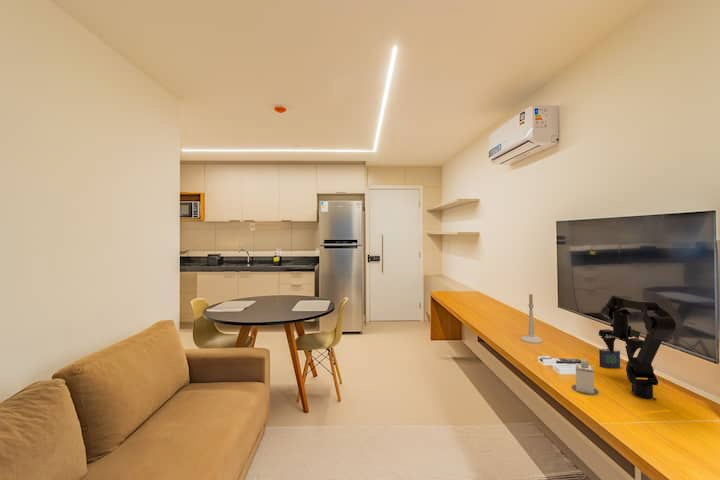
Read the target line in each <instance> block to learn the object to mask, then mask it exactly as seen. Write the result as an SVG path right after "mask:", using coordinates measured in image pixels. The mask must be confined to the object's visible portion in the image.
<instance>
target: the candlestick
mask: <svg viewBox="0 0 720 480" xmlns="http://www.w3.org/2000/svg"><path fill="white" fill-rule="evenodd" d="M533 297H534V296H533V294H528V300H529V301H528V302H529V303H528V304H527V305H528V308H529V310H528V311H529V312H528V315H529V316H528V334H527V335H523V336H521V337H520V341H522V342H524V343H528V344H541V343H543V342H544V341H543V339H542V338H541V337H539V336H537V335H535V325H534V324H535V323H534V311H533V308H534V306H535V305H534V303H533V301H534V300H533Z"/></svg>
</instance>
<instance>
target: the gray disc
mask: <svg viewBox="0 0 720 480" xmlns="http://www.w3.org/2000/svg"><path fill="white" fill-rule="evenodd" d="M570 388H571V389H572V390H573V391H575V392H576V393H579V394H582V395H585V396H586V395H587V396H596V395H598V394H599V393H600V392H599V390H598V389H597V388H595V387H594V394H590V393H585V392H580V391H576V384H573V385H571V387H570Z"/></svg>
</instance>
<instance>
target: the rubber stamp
mask: <svg viewBox="0 0 720 480" xmlns="http://www.w3.org/2000/svg"><path fill="white" fill-rule="evenodd" d="M594 373H595V369H594V365H590V364H589V359H587V358H580V363H579V362H578V363H577V362H576V363H575V385H576V391H580V392H585V393H590V394H594V388H595V374H594ZM576 391H575V392H576Z"/></svg>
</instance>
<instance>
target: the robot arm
mask: <svg viewBox="0 0 720 480" xmlns="http://www.w3.org/2000/svg"><path fill="white" fill-rule="evenodd" d="M610 297H611V298H609V300H608V302H607V303H605V305H604V306H603V307H602V309H601V310H600V313H601V315H603V316H604V317H605V318H607V319H609V320H612V323H610V327H611V328H612V330H611V329H609V328H608V329H607V328H606V329H600V330H599V331H598V336H599V337H600V339H602V340H603V342H604V343H605V345H606V347H607V348H608V349H609V351H610V352H611V353H613V352H614V350H615V346H614V345H615V341H616V340H620V341H623V342H625V351H626V356H627V362H626V367H625V372H626V377H627V380H628V382H629V383H630V384H631V392H632V394H633V395H635V396H636V397H638V398H641V399H645V400H654V401H657V398H656V397H654V386H658V385H659V380H658V377H657V376H656V374H655V372H654V369H655V368H654V367H653V365H652V363H653V361H654V359H655V357H656V354H657V353H658V350H659V348H660V347H661V345H662V342H663V340H664V339H665V338H667V337H669V336H671V335H672V334H673V333H674V332H675V331H676V328H677V323H676V321H675V320H674V318H673V317H672V316H671V315H670V313H669V312H668V311H666V310H665V309H663V308H661V307H660V305H659V304H658V302H656V301H648V300H641V299H633V297H631V296H629V295H611V296H610ZM628 309H632V310H637V311H641V313H642V314H641V320H642V322H643V323H644V328H645V329H646V332H647V333H646V335H645V336H644V339H641V338H640V335H641V331H638V330H635V329H632V326H631V325H629V316H631V315H632V314H631V312H630V311H629V310H628ZM648 312H652V313H654V314H655V315H656V316H652V315H651V316H649V314H648ZM637 350H638V353H637V356H634V355H635V354H636V352H637Z"/></svg>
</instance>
